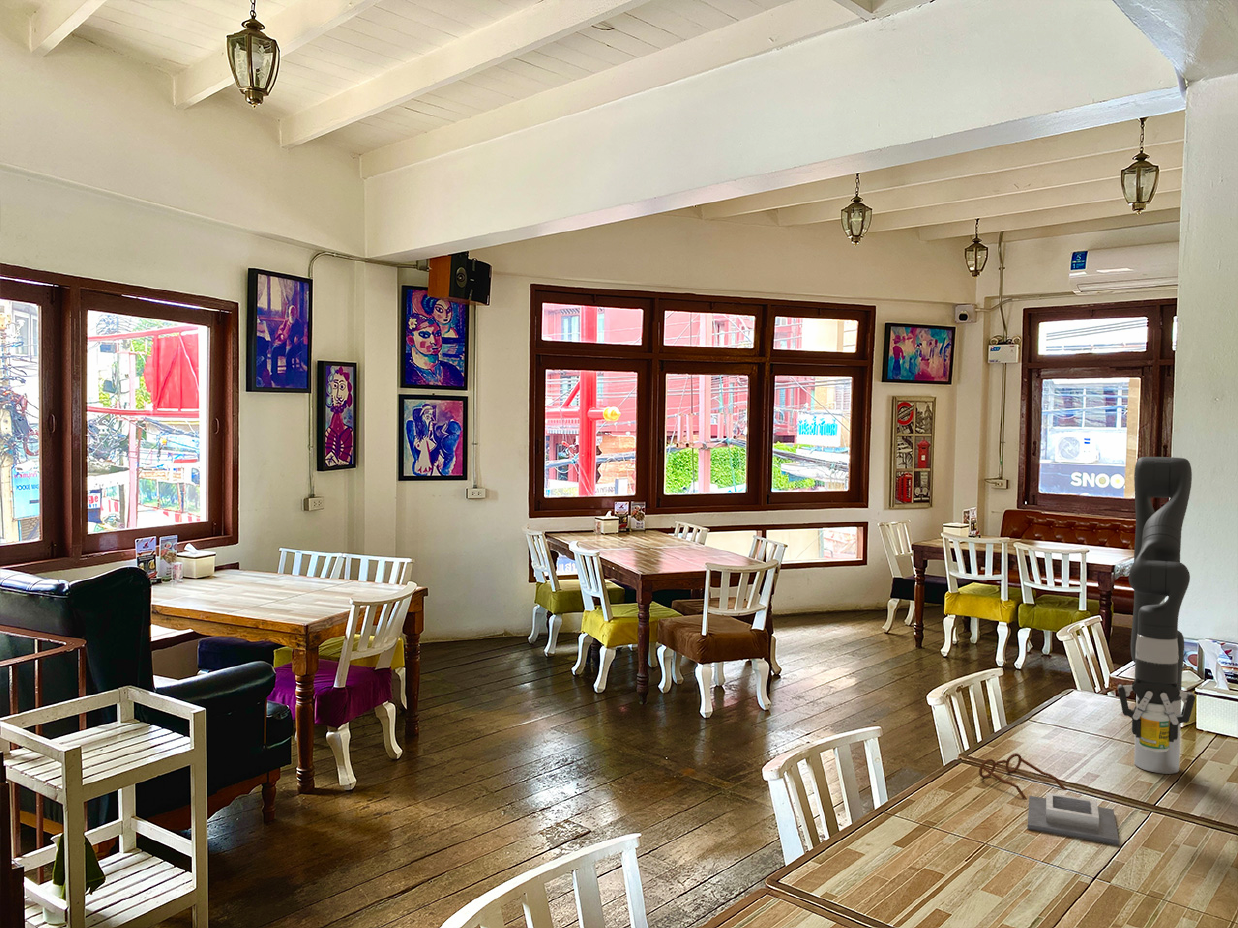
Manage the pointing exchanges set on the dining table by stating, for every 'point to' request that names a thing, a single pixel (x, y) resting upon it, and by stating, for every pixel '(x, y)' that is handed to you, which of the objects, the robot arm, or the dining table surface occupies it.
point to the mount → (1072, 818)
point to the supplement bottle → (1154, 728)
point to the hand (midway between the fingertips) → (1154, 738)
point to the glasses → (1013, 771)
